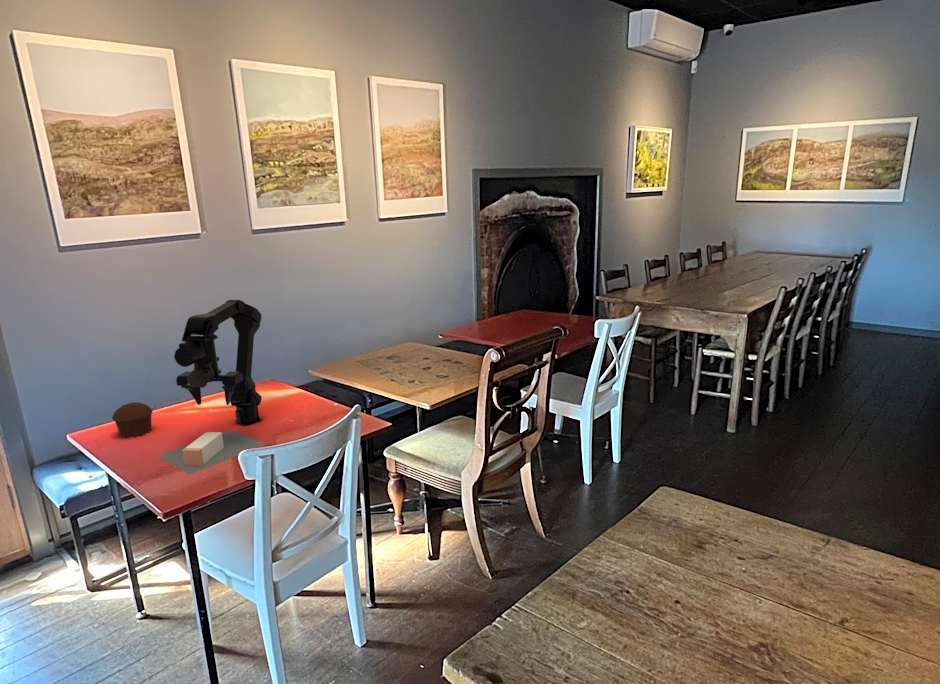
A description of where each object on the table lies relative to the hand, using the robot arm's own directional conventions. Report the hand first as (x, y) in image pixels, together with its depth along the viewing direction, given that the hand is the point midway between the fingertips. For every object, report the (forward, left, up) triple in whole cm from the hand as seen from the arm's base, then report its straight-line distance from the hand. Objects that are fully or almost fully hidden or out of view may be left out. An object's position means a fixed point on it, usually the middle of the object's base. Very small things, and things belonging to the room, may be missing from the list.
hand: (213, 404), depth 180 cm
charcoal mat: (+5, +5, -13) cm, 14 cm away
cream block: (+3, +4, -10) cm, 11 cm away
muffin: (+13, -30, -13) cm, 35 cm away
